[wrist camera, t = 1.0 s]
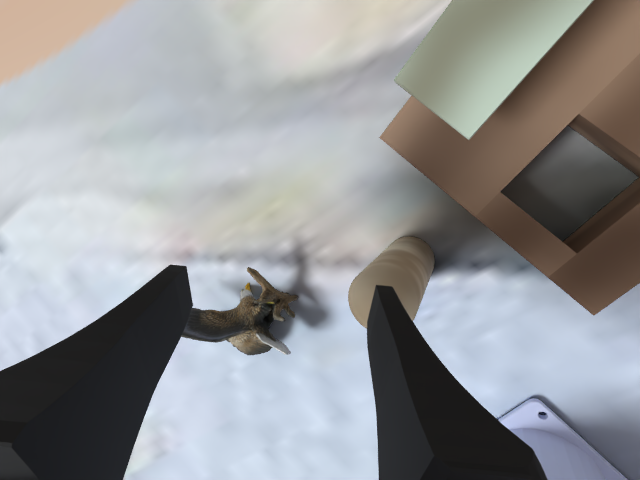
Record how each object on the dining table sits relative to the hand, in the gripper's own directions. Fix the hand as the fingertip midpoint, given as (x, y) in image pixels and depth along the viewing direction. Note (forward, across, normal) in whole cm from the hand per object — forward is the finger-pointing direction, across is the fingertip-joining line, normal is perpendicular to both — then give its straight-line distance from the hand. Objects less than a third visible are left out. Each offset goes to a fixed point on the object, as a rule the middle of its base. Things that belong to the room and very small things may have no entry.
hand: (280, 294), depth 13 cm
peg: (+9, -8, +4) cm, 12 cm away
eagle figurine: (+11, +3, +12) cm, 16 cm away
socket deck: (+10, -14, -5) cm, 17 cm away
